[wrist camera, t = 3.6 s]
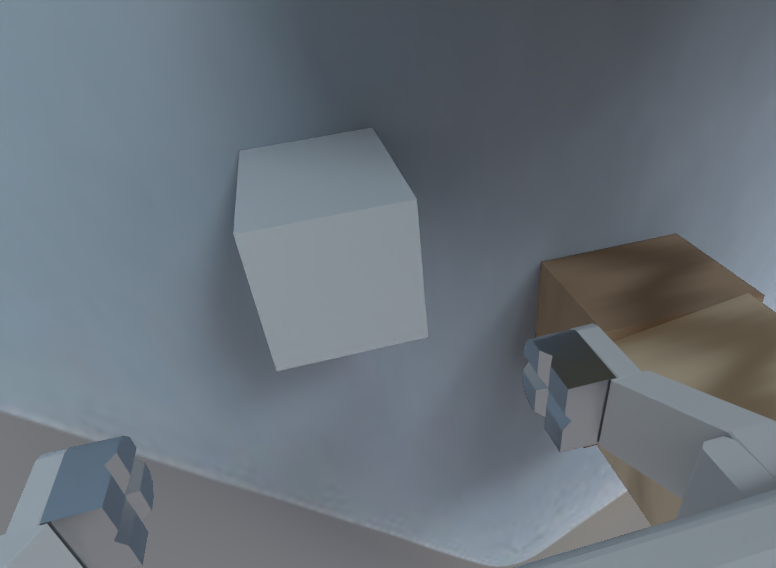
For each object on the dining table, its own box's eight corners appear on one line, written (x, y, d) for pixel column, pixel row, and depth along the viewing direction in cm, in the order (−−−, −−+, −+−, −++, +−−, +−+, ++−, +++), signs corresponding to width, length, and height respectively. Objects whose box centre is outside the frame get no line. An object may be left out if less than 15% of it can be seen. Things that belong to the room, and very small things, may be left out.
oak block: (748, 292, 19) (884, 390, 15) (728, 399, 22) (834, 502, 18) (594, 348, 19) (688, 462, 15) (598, 447, 22) (675, 561, 18)
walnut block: (675, 232, 23) (764, 295, 19) (648, 341, 27) (719, 412, 23) (540, 261, 22) (604, 332, 18) (532, 368, 26) (583, 448, 22)
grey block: (372, 127, 18) (416, 199, 13) (386, 241, 20) (428, 337, 15) (239, 150, 17) (233, 234, 12) (271, 264, 20) (276, 371, 15)
